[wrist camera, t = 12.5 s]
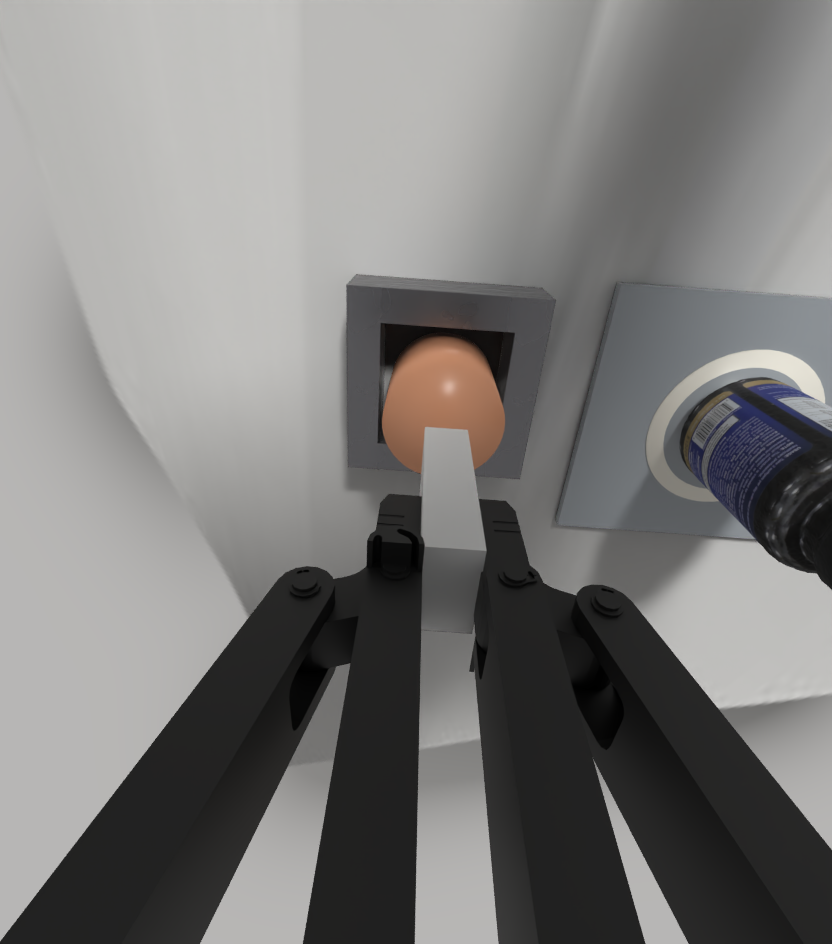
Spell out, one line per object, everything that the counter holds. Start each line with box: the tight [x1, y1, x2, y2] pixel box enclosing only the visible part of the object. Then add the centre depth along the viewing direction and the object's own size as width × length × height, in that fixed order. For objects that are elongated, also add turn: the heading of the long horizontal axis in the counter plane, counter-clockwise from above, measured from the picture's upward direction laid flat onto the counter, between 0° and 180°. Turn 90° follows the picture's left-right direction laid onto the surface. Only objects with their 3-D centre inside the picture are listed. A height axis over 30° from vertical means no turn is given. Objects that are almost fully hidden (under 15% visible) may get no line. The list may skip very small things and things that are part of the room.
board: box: [555, 282, 832, 539], centre depth 26 cm, size 14×16×1 cm
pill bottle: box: [680, 377, 832, 589], centre depth 21 cm, size 6×6×11 cm
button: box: [382, 332, 505, 474], centre depth 22 cm, size 5×5×5 cm
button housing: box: [347, 274, 556, 479], centre depth 24 cm, size 9×9×3 cm
